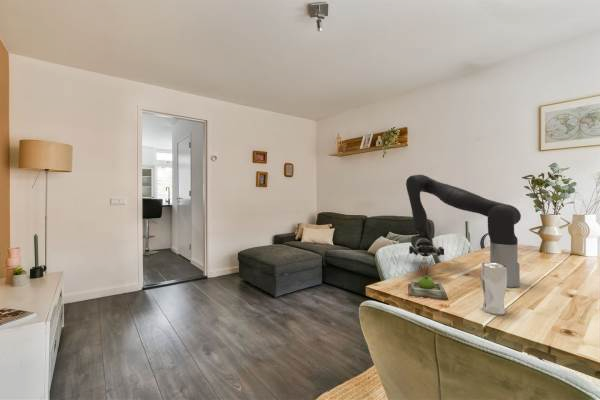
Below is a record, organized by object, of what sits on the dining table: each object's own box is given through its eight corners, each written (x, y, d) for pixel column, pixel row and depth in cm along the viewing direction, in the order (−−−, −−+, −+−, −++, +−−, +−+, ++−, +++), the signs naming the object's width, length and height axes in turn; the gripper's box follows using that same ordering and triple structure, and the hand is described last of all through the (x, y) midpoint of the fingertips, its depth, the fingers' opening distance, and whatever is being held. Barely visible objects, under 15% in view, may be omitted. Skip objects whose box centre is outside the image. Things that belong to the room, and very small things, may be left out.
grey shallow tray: (443, 289, 110) (443, 282, 109) (448, 300, 98) (448, 292, 98) (408, 286, 114) (408, 279, 114) (408, 296, 103) (408, 289, 103)
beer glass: (511, 316, 85) (511, 268, 85) (486, 314, 87) (486, 267, 86) (500, 307, 92) (500, 262, 92) (477, 306, 93) (477, 262, 93)
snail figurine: (432, 288, 109) (432, 257, 108) (435, 293, 102) (434, 261, 102) (417, 286, 110) (417, 257, 110) (419, 292, 104) (419, 260, 104)
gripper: (408, 238, 135) (409, 244, 120) (440, 239, 130) (445, 245, 115) (408, 254, 135) (409, 261, 120) (440, 255, 130) (446, 263, 115)
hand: (427, 253), depth 117 cm, fingers open, 8 cm apart
